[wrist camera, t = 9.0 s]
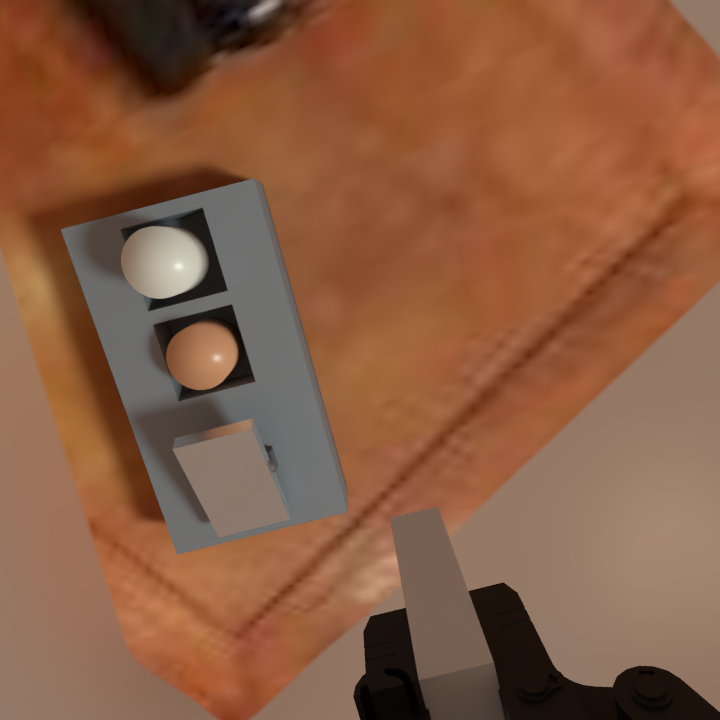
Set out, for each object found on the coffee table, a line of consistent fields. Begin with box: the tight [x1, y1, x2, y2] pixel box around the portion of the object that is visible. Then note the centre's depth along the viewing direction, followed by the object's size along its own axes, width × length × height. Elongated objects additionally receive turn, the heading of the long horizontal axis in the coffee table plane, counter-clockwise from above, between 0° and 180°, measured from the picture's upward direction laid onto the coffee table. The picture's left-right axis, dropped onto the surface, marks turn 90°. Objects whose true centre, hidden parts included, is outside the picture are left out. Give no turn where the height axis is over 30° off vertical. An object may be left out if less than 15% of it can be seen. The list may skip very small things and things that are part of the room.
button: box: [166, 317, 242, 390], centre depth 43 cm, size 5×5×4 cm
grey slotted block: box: [61, 178, 348, 554], centre depth 44 cm, size 26×14×6 cm, turn 14°
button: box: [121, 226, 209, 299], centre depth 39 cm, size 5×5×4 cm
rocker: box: [172, 419, 290, 537], centre depth 42 cm, size 9×6×2 cm, turn 14°
